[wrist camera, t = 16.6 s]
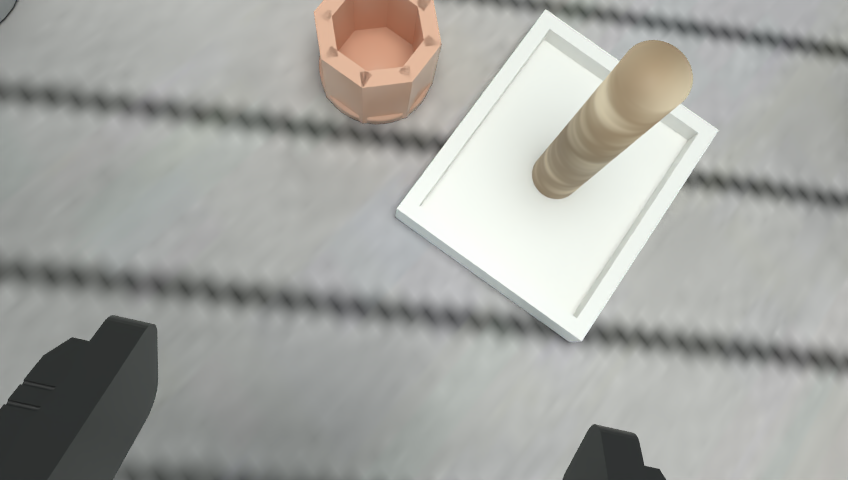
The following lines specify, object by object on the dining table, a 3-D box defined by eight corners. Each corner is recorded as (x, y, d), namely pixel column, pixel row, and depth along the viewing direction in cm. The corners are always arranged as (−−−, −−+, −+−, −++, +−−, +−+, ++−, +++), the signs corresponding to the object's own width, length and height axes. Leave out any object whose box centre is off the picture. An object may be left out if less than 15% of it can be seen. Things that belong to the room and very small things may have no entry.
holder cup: (297, 80, 45) (287, 38, 40) (364, -2, 47) (364, -54, 41) (388, 145, 45) (392, 113, 39) (453, 61, 47) (466, 18, 41)
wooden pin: (522, 180, 44) (606, 81, 29) (549, 143, 45) (645, 26, 29) (562, 208, 44) (668, 124, 29) (588, 170, 45) (706, 68, 29)
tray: (395, 217, 44) (396, 208, 42) (536, 27, 48) (545, 9, 45) (569, 342, 44) (581, 341, 41) (700, 142, 47) (718, 130, 45)
